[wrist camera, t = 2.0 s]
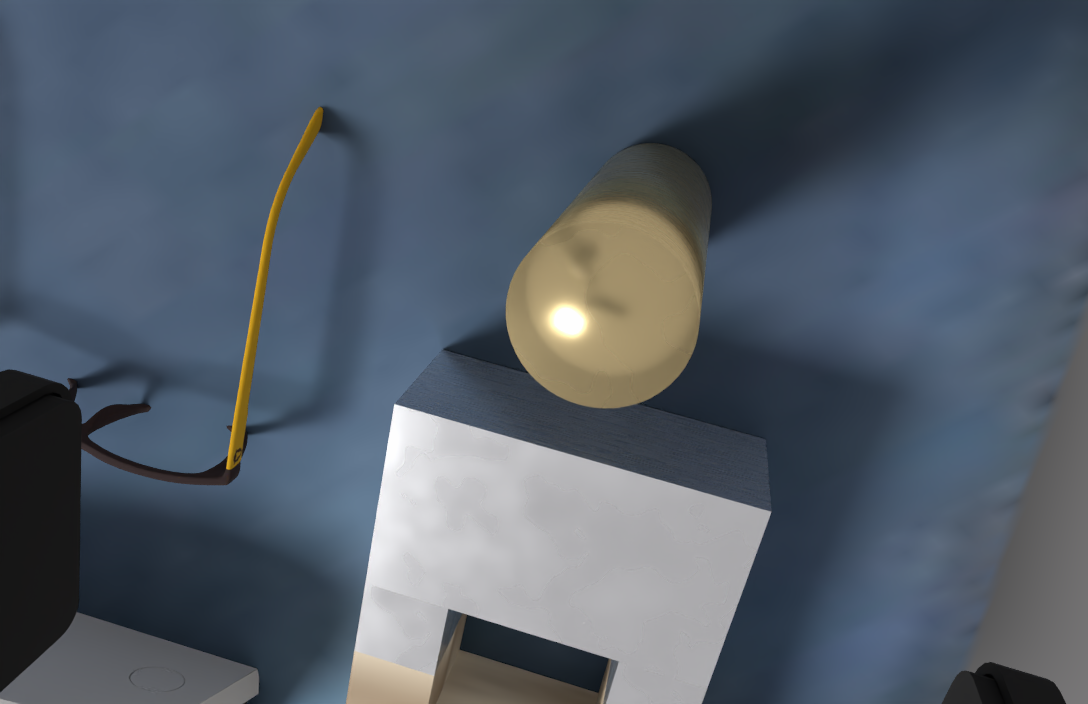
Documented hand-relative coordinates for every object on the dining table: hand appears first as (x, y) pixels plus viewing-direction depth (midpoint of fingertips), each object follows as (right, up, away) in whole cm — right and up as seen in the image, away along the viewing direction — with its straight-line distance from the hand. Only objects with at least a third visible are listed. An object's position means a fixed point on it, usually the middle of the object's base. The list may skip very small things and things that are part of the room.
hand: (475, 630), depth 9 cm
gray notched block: (+2, -3, +25) cm, 25 cm away
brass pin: (+4, +8, +20) cm, 22 cm away
